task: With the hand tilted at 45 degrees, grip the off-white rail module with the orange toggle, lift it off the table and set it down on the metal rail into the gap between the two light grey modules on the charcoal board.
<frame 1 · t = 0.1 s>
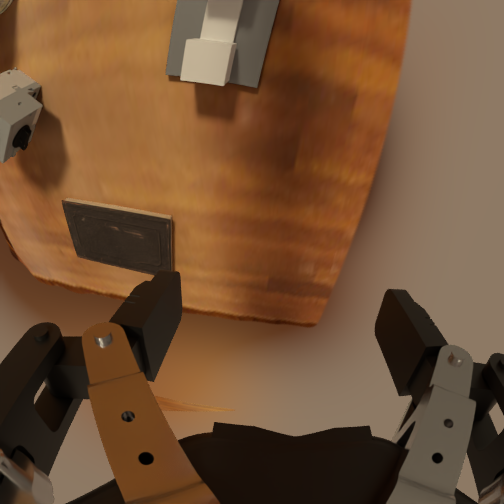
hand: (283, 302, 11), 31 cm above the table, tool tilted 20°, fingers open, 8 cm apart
hardcover book: (120, 233, 54), on the table
circuit breaker: (32, 100, 33), on the table
rail board: (224, 15, 26), on the table
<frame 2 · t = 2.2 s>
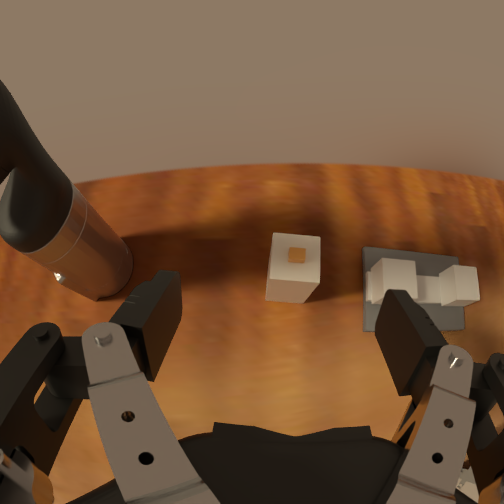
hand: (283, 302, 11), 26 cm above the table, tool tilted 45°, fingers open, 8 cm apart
circuit breaker: (461, 475, 26), on the table
rail board: (416, 292, 38), on the table
rail module: (285, 283, 38), on the table
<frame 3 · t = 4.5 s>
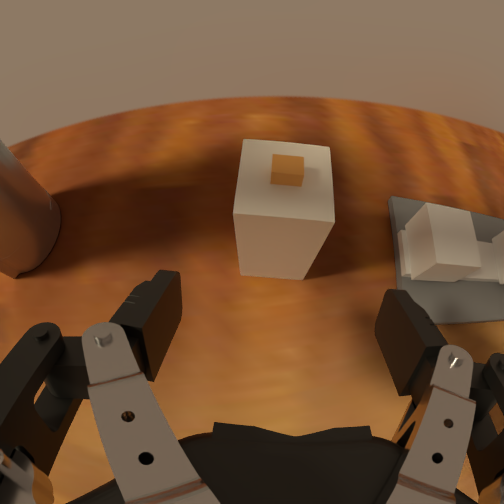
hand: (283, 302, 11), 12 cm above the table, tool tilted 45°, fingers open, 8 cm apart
rail board: (465, 265, 23), on the table
rail module: (273, 248, 24), on the table
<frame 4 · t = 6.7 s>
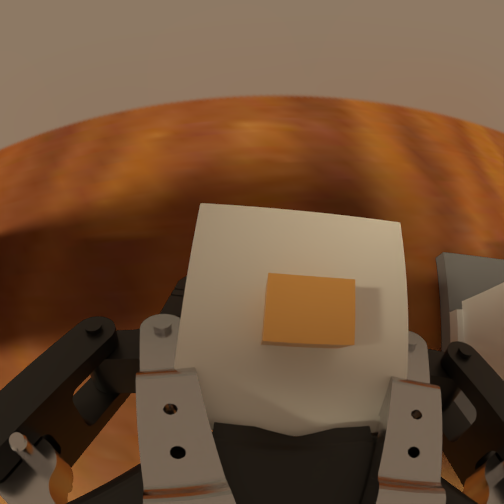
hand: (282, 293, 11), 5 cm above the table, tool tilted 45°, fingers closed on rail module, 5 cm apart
rail module: (271, 346, 15), on the table, touching gripper
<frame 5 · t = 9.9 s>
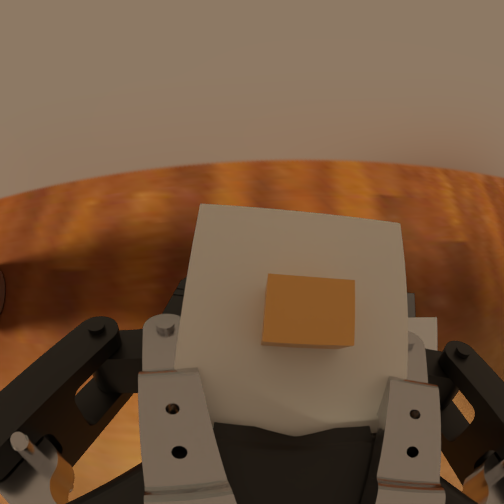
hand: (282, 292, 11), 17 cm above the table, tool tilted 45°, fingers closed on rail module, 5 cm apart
rail board: (334, 350, 27), on the table
rail module: (271, 346, 15), point 12 cm above the table, touching gripper
when the fingers open (8 cm above the table, at t = 13.0 s): rail module drops 2 cm, resting on rail board.
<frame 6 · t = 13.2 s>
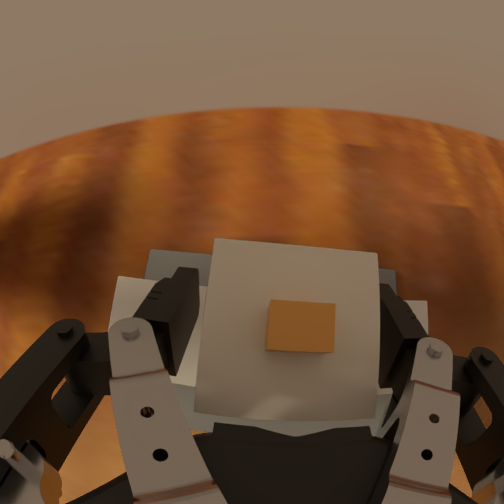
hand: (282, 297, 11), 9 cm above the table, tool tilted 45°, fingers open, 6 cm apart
rail board: (267, 349, 19), on the table
rail module: (269, 349, 17), point 2 cm above the table, touching rail board
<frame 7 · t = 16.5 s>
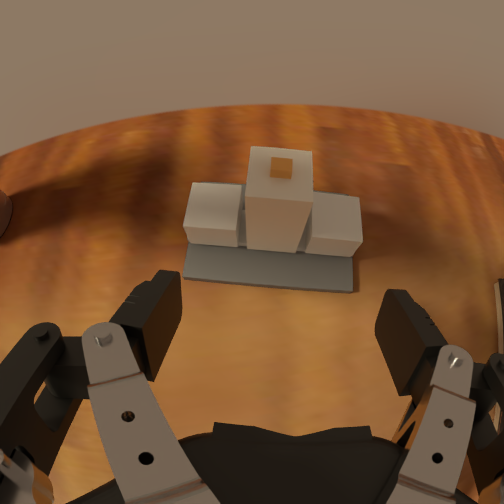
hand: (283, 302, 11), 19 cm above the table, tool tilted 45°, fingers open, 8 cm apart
rail board: (271, 235, 33), on the table
rail module: (272, 229, 31), point 2 cm above the table, touching rail board
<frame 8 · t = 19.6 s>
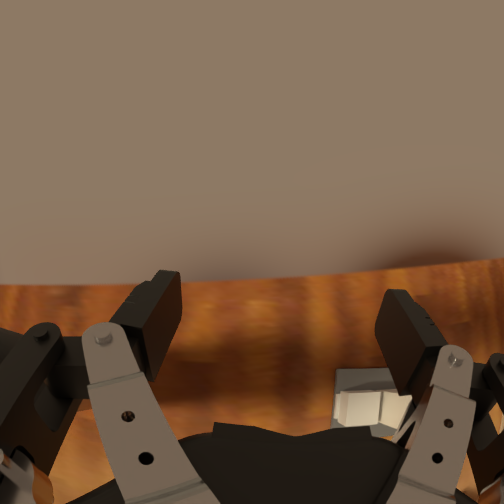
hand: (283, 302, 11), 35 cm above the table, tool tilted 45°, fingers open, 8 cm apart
rail board: (383, 402, 39), on the table
rail module: (388, 404, 37), point 2 cm above the table, touching rail board
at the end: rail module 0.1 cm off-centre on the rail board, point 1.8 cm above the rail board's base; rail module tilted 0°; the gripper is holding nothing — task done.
